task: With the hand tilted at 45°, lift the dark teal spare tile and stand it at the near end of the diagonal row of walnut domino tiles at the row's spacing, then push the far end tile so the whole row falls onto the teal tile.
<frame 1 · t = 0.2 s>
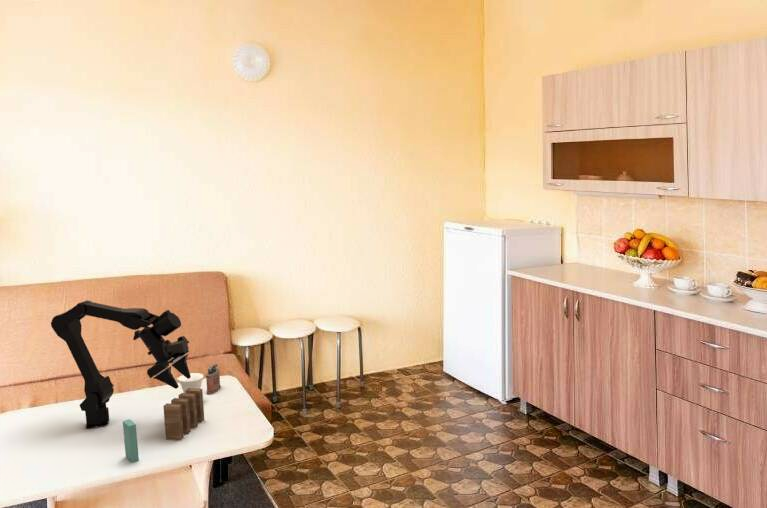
hand: (183, 382, 197), 15 cm above the table, tool tilted 35°, fingers open, 9 cm apart
lighter: (213, 391, 230), on the table
tile 1: (196, 421, 203), on the table
spare tile: (132, 458, 177), on the table
cup: (192, 403, 219), on the table
tile 4: (174, 438, 189), on the table
tile 3: (182, 432, 194), on the table
tile 2: (189, 426, 198), on the table
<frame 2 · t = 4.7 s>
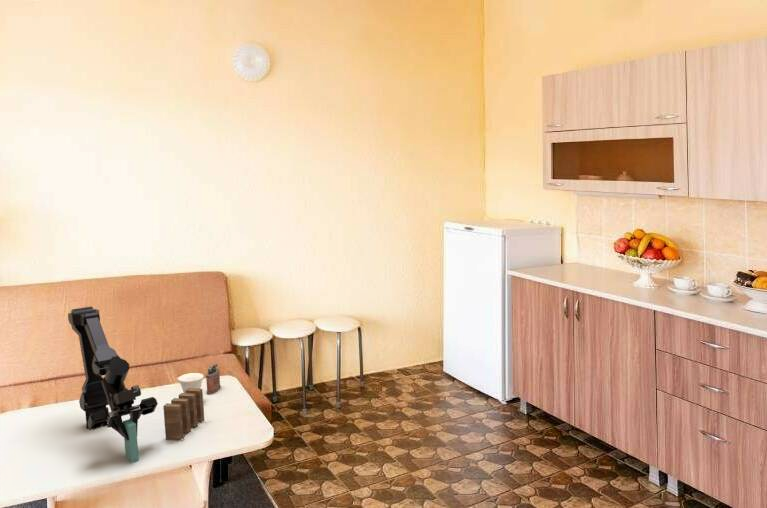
hand: (132, 438, 175), 7 cm above the table, tool tilted 45°, fingers closed on spare tile, 2 cm apart
spare tile: (132, 458, 177), on the table, touching gripper
everything else where it was.
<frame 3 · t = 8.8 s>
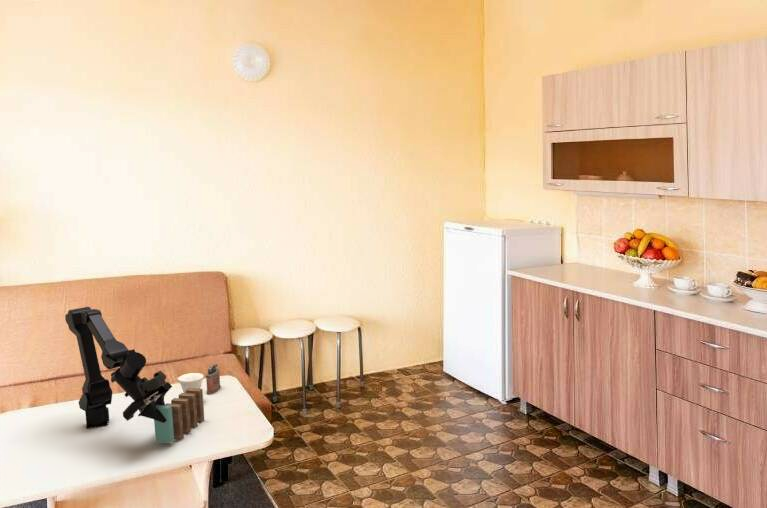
hand: (167, 420, 184), 8 cm above the table, tool tilted 45°, fingers closed on spare tile, 2 cm apart
spare tile: (165, 441, 185), point 1 cm above the table, touching gripper
tile 4: (174, 438, 189), on the table, touching gripper
everything else where it was.
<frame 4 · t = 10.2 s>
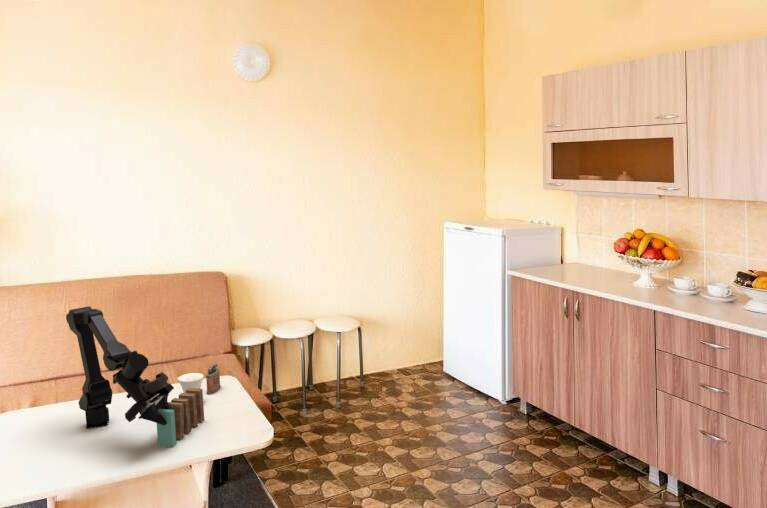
hand: (169, 421, 184), 8 cm above the table, tool tilted 45°, fingers open, 4 cm apart
spare tile: (167, 444, 185), on the table
tile 4: (174, 438, 189), on the table, tilted 7°, touching gripper
everything else where it was.
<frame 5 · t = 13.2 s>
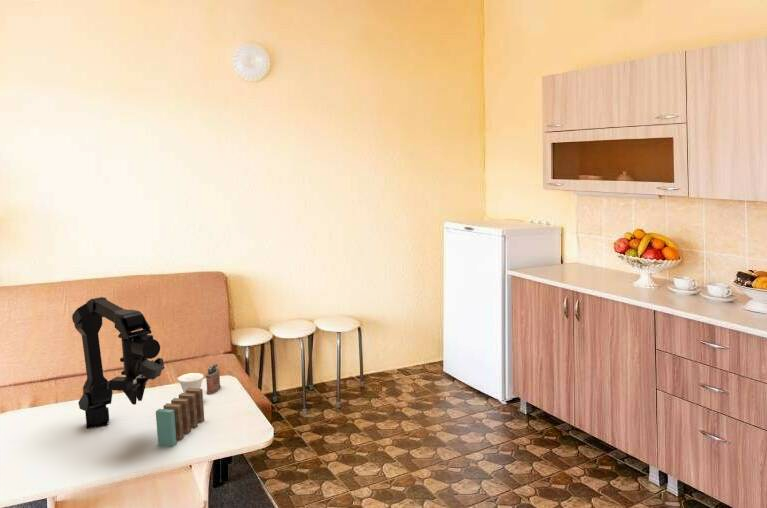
hand: (137, 402, 185), 13 cm above the table, tool pointing down, fingers open, 3 cm apart
tile 4: (174, 438, 189), on the table
everything else where it was.
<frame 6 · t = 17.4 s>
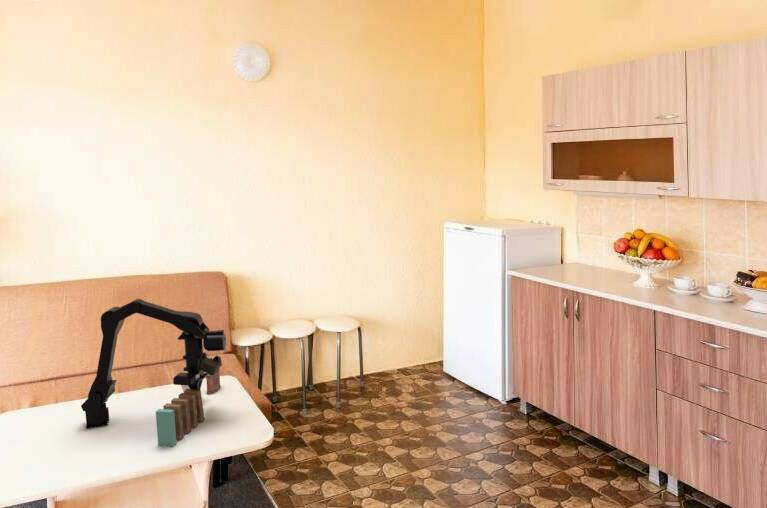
hand: (196, 396, 203), 8 cm above the table, tool pointing down, fingers closed
tile 1: (196, 420, 203), on the table, tilted 6°
everything else where it was.
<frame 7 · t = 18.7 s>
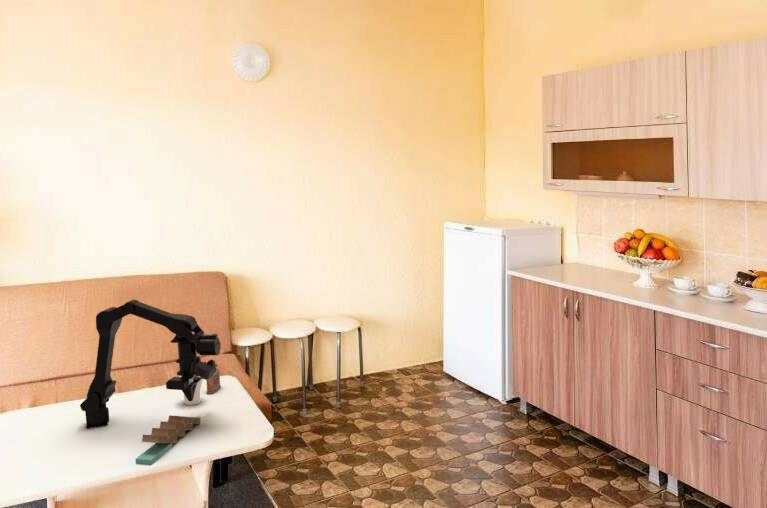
hand: (190, 400, 199), 8 cm above the table, tool pointing down, fingers closed
tile 1: (193, 420, 201), point 1 cm above the table, tilted 65°
spare tile: (164, 445, 184), on the table, tilted 90°
tile 4: (169, 439, 186), point 1 cm above the table, tilted 65°
tile 3: (177, 432, 191), point 1 cm above the table, tilted 65°, touching tile 2
tile 2: (185, 426, 196), point 1 cm above the table, tilted 65°, touching tile 3
everything else where it was.
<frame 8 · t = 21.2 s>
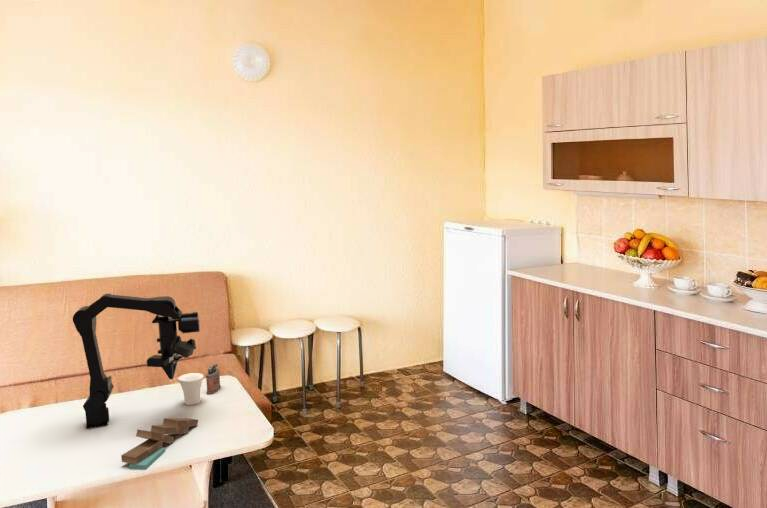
hand: (171, 378, 206), 13 cm above the table, tool pointing down, fingers closed
tile 1: (191, 421, 200), point 1 cm above the table, tilted 69°, touching tile 2
spare tile: (157, 450, 181), on the table, tilted 90°, touching tile 4
tile 4: (155, 443, 181), point 2 cm above the table, tilted 90°, touching spare tile, tile 3
tile 3: (166, 439, 187), point 1 cm above the table, tilted 58°, touching tile 2, tile 4
tile 2: (182, 428, 194), point 1 cm above the table, tilted 69°, touching tile 1, tile 3
everything else where it was.
at the end: spare tile tilted 90°; spare tile inside the target area (4.5 cm from its centre), on the table; tile 3 tilted 56° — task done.
